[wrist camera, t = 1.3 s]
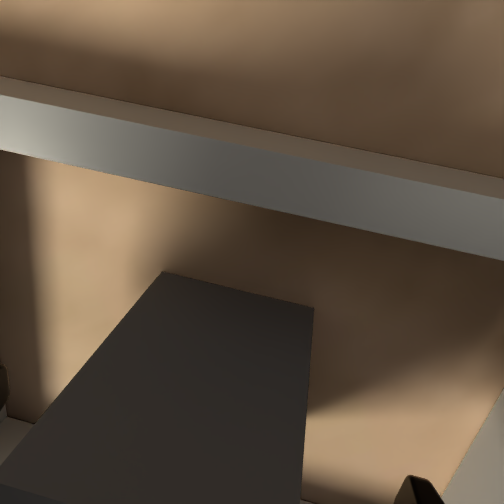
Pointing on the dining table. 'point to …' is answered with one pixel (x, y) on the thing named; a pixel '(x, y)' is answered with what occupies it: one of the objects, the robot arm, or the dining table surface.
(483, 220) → the organiser
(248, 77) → the dining table surface
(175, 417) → the grey cube with knob
